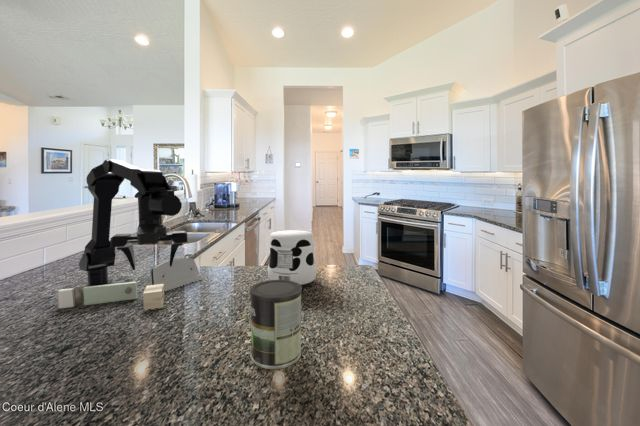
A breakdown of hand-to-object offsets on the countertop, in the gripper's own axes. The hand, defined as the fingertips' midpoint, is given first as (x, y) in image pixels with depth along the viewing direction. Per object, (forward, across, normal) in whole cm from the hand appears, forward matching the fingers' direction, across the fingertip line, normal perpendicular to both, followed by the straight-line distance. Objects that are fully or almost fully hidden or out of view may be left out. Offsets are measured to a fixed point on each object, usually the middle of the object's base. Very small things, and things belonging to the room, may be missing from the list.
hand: (152, 268), depth 85 cm
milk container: (+11, +43, +3) cm, 44 cm away
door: (+11, -12, +7) cm, 18 cm away
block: (+11, 0, 0) cm, 11 cm away
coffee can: (+11, +26, -39) cm, 48 cm away
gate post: (+11, -20, +8) cm, 24 cm away
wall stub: (+11, -23, +8) cm, 26 cm away
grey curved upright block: (+11, +5, +18) cm, 22 cm away
